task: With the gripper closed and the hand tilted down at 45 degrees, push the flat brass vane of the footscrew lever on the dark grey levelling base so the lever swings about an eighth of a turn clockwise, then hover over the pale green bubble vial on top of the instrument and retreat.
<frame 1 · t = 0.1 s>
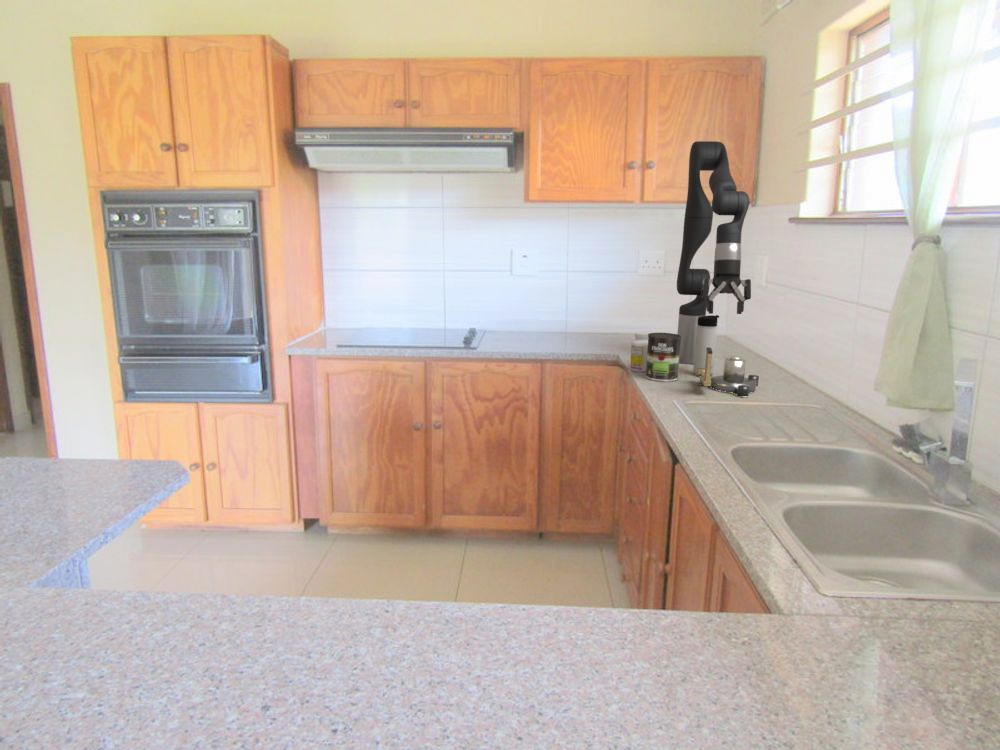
hand: (724, 313, 199), 23 cm above the worktop, tool pointing down, fingers open, 8 cm apart
coffee can: (661, 378, 214), on the worktop
supplement bottle: (639, 371, 224), on the worktop
travel mug: (703, 375, 219), on the worktop
footscrew lever: (706, 363, 198), point 8 cm above the worktop, hinge at 0.0°
levelling base: (732, 388, 202), on the worktop
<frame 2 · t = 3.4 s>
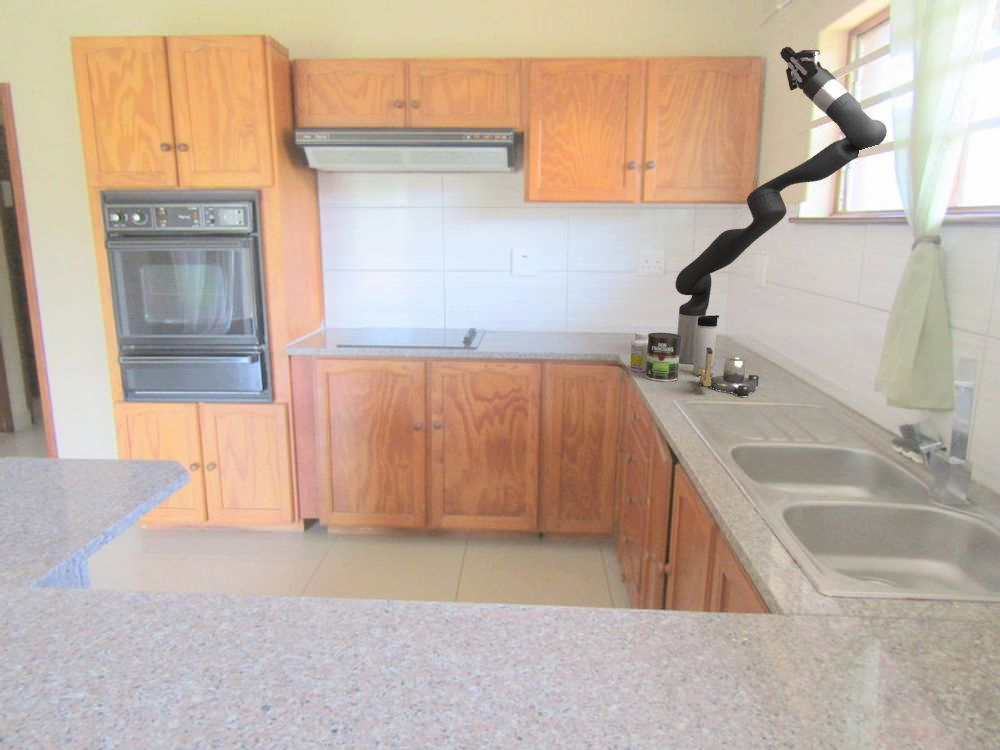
hand: (783, 49, 183), 96 cm above the worktop, tool pointing upward, fingers closed
nothing on the worktop moved.
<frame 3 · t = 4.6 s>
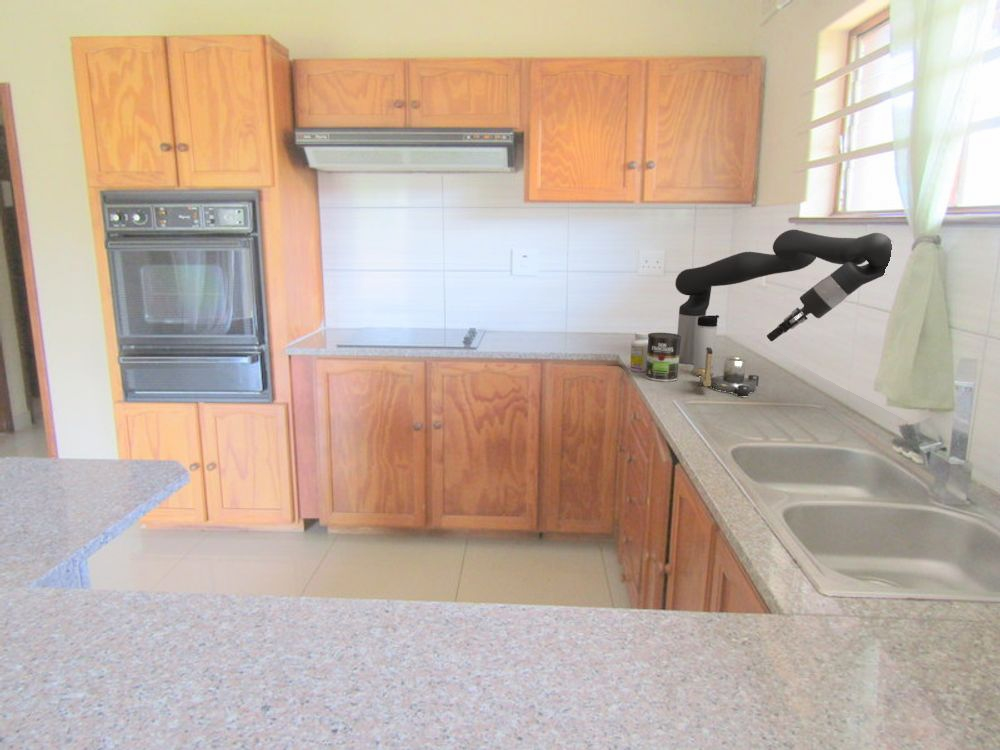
hand: (769, 338, 181), 18 cm above the worktop, tool tilted 45°, fingers closed
nothing on the worktop moved.
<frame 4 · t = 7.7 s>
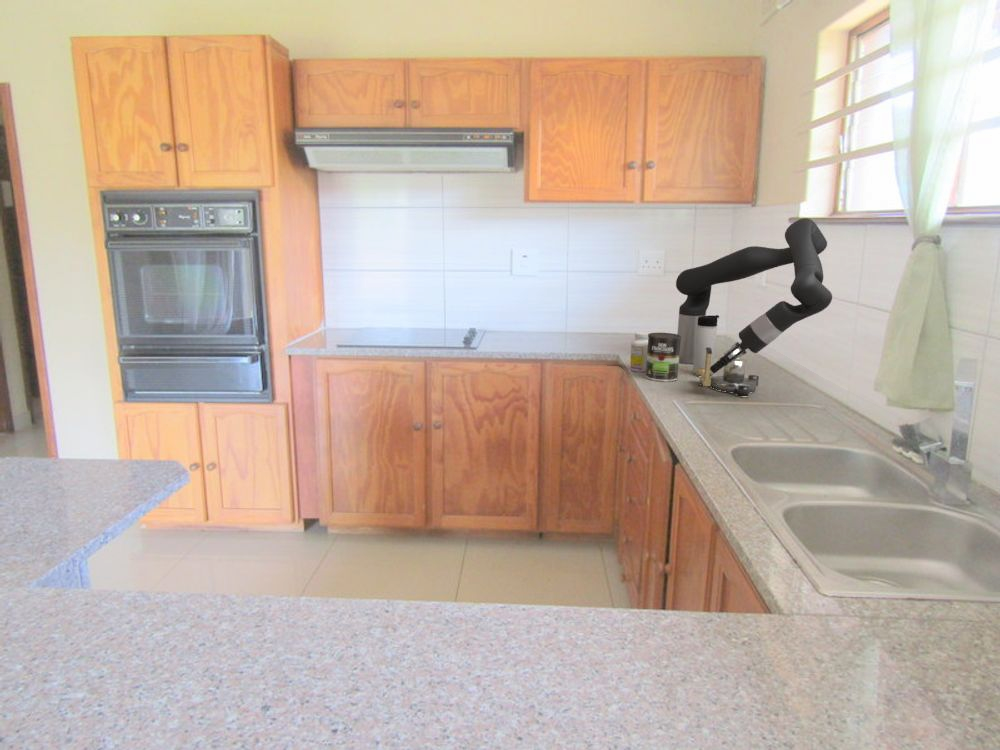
hand: (712, 370, 192), 7 cm above the worktop, tool tilted 45°, fingers closed
footscrew lever: (706, 362, 198), point 8 cm above the worktop, hinge at 0.6°, touching gripper
everything else where it was.
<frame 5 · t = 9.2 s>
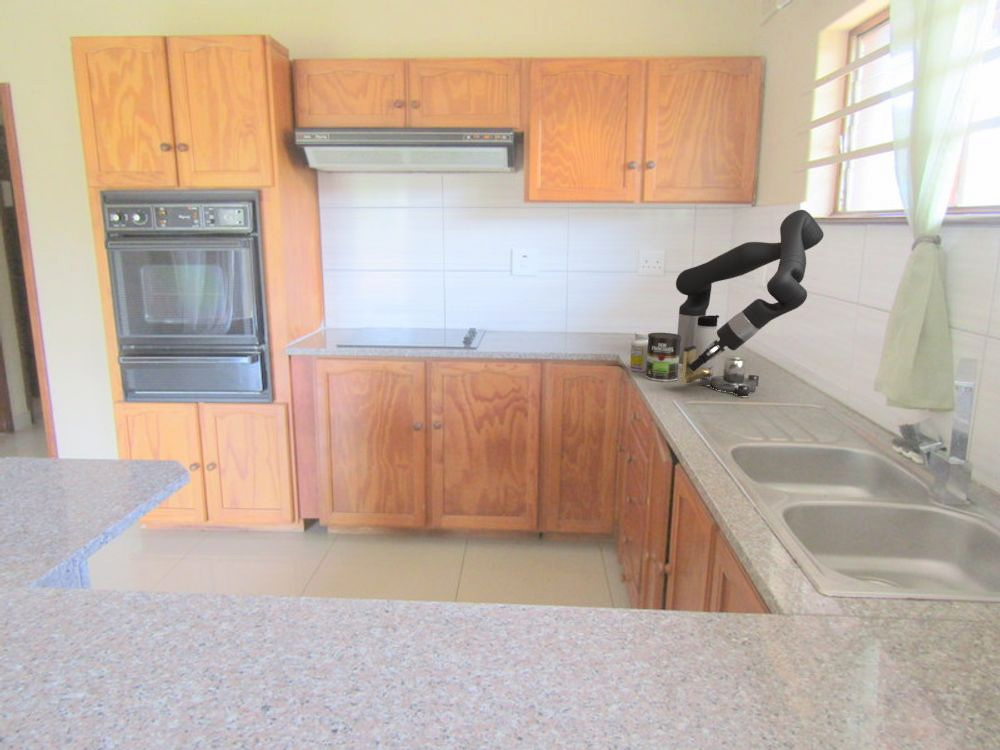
hand: (691, 368, 195), 7 cm above the worktop, tool tilted 45°, fingers closed
footscrew lever: (696, 361, 200), point 8 cm above the worktop, hinge at 27.7°, touching gripper
everything else where it was.
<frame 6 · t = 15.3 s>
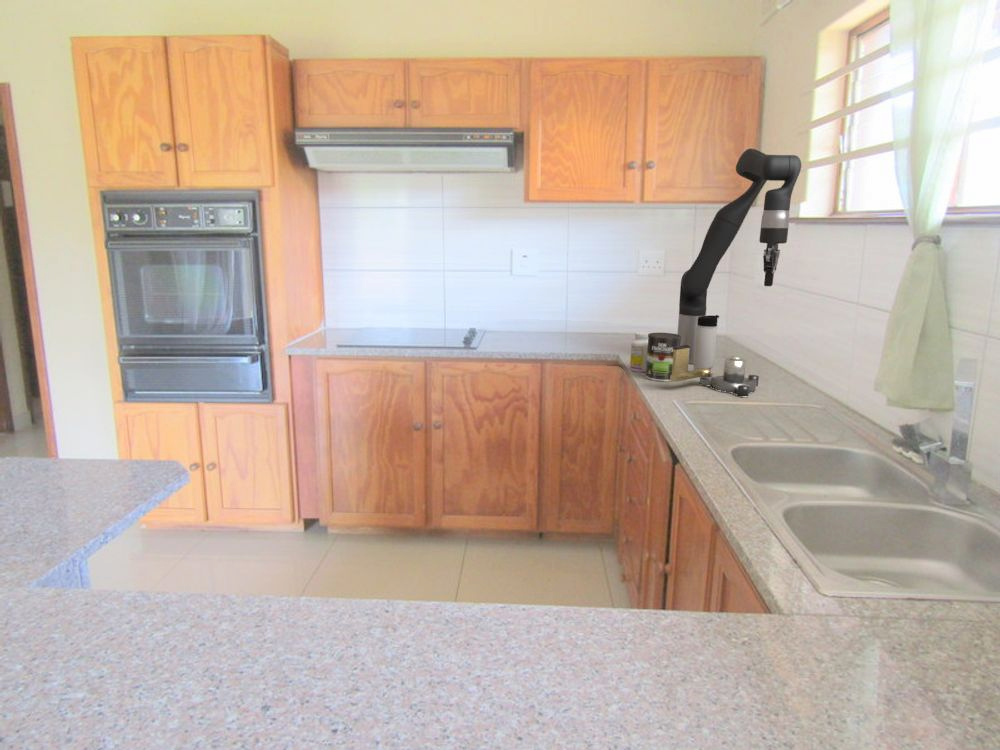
hand: (768, 285, 197), 31 cm above the worktop, tool pointing down, fingers closed
footscrew lever: (692, 361, 201), point 8 cm above the worktop, hinge at 41.6°
everything else where it was.
at the end: footscrew lever at +42° (first picture: +0°); footscrew lever touching nothing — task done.
